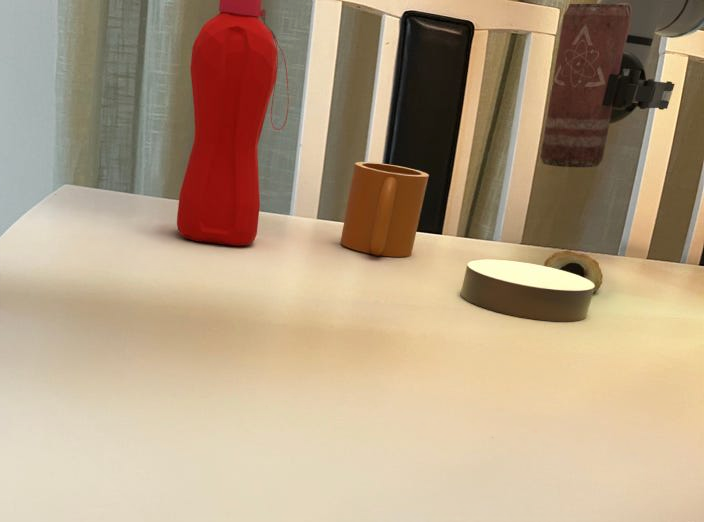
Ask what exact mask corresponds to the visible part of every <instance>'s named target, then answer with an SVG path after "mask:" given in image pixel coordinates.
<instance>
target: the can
mask: <svg viewBox="0 0 704 522" xmlns="http://www.w3.org/2000/svg"><path fill="white" fill-rule="evenodd" d="M631 15H632V9H631V6H630V5H629V4H626V3H619V4H597V3H569V4H568V7H567V9H566V10H565V12H564V13H563V15H562V22H561V27H560V32H559V33H560V34H559V40H558V46H557V52H556V58H555V63H554V70H553V77H552V82H551V86H552V88H551V87H550V90H551V92H550V96H549V101H548V107H547V112H546V119H545V125H544V131H543V136H542V137H543V138H542V144H541V149H540V151H541V152H540V159H541V162H542V164H543V165H547V166H551V167H560V168H561V167H562V168H595V167H598V166H599V165H600V163H602V161H603V158H604V154H605V148H606V143H607V138H608V134H609V127H610V124H609V123H610V118H611V113H612V108H613V102H614V97H615V92H616V87H617V83H616V87H615V90H614V94H613V97H612V101H611V105H610V106H603V105H602V104H603V100H604V97H605V93H606V89H607V86H608V82H609V78H610V75H611V74H616V75H619V71H620V66H621V61H622V56H623V51H624V47H625V43H626V40H627V36H628V33H629V28H630V22H631ZM617 82H618V80H617Z"/></svg>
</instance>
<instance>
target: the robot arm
mask: <svg viewBox="0 0 704 522" xmlns="http://www.w3.org/2000/svg"><path fill="white" fill-rule="evenodd" d="M596 2H597V3H596V4H619V3H626V4H629V5H630V6H631V9H632V15H631V22H630V28H629V33H628V36H627V40H626V43H625V47H624V51H623V56H622V61H621V66H620V71H619V75H616V74H611V75H610V78H609V82H608V86H607V89H606V93H605V97H604V100H603V104H602V105H603V106H610V105H611V101H612V97H613V94H614V90H615V87H616V83H617V87H616V92H615V97H614V102H613V108H612V113H611V118H610V123H609V125H611V124H616V123H619V122H621V121H622V120H624V119H626V118H627V117H628V116H630V115H631V114H632V113H633V112H634V111H635V110H636V109H637V107H638V108H639V110H645V109H658V110H662V111H664V110H667V109H668V107H669V105H670V101H671V98H672V94H673V91H674V88H675V83H673V82H672V81H669V80H667V81H666V82H664V81H655V80H654V79H653V78H648V79H647V73H646V70H645V68H646V65H647V62H648V58H649V54H650V51H651V47H652V44H653V41H654V38H655V35H658V36H661V37H663V38H669V39H675V38H680V37H687V36H690V35H692V34H694V33H696V32H697V31H699V30H700V29H701V28H703V26H704V0H597V1H596ZM617 80H618V82H617ZM551 88H552V85H551V87H550V91H549V92H550V93H551Z"/></svg>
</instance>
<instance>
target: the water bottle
mask: <svg viewBox="0 0 704 522" xmlns="http://www.w3.org/2000/svg"><path fill="white" fill-rule="evenodd" d="M262 1H263V0H219V4H218V12H219V13H218V14H217V15H215V16H213V17H212V18H210V19H209V20H207V21H206V22H205V23H204V25H203V26H202V27H201V29H200V31H199V32H198V34H197V36H196V37H195V39H194V42H193V45H192V47H191V58H190V59H191V60H190V77H191V78H190V79H191V88H192V89H191V90H192V100H193V112H194V113H193V115H194V117H193V118H194V137H193V139H194V140H193V143H192V147H191V151H190V154H189V159H188V162H187V166H186V169H185V173H184V177H183V181H182V183H181V187H180V192H179V198H178V207H177V215H176V229H177V231H178V233H179V234H181V236H182V237H183V238H184V239H187V240H191V241H194V242H202V243H210V244H216V245H217V244H218V245H225V246H236V247H242V246H248V245H250V244H251V243H252V242H254V241H255V240H256V237H257V235H258V226H259V217H260V216H259V215H260V206H261V200H260V199H261V198H260V197H261V195H260V177H259V154H258V145H259V141H260V137H261V133H262V130H263V126H264V122H265V119H266V116H267V111H268V109H269V104H270V100H271V106H270V122H271V126H272V127H273V128H274V130H277V131H279V130H283V128H284V127H285V125H286V123H287V120H288V115H289V107H287V109H286V117H285V121H284V124H283V125H282V126H281V127H280V128H276V126H274V123H273V116H272V115H273V104H274V98H275V97H274V96H275V89H276V84H277V83H276V82H277V78H278V68H279V67H278V66H279V54H278V48H279V50H280V52H281V54H282V57H283V60H284V66H285V68H284V69H285V74H286V75H285V76H286V86H287V90H289V81H288V80H289V79H288V70H287V64H286V63H287V62H286V58H285V54H284V52H283V50H282V49H281V46H280V44H279V43H278V40H277V36H276V35H275V33H274V31H273V30H272V29H271V28H270V26H269V25H268V23H266V19H267V18H266V13H267V11H266V9H265V8H263V9H261V8H262V3H263V2H262ZM260 18H261V19H260ZM262 20H263V21H262ZM271 97H272V99H271ZM289 101H290V100H289V94H287V104H289V103H290V102H289Z"/></svg>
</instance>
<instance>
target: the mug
mask: <svg viewBox="0 0 704 522" xmlns="http://www.w3.org/2000/svg"><path fill="white" fill-rule="evenodd" d="M429 177H430V175H429V174H428V173H427V172H424V171H421V170H419V169H414V168H409V167H405V166H400V165H396V164H395V165H394V164H388V163H380V162H371V161H357V162H355V163H354V166H353V170H352V176H351V182H350V188H349V194H348V199H347V204H346V210H345V214H344V215H345V216H344V220H343V226H342V230H341V231H342V232H341V238H340V244H341V245H342V246H344V247H346V248H348V249H351V250H355V251H356V252H361V253H365V254H371V255H374V256H376V257H377V256H378V257H379V256H384V257H394V258H404V257H405V258H406V257H410V256H412V254H413V249H414V244H415V240H416V235H417V230H418V227H419V222H420V217H421V213H422V208H423V203H424V199H425V193H426V190H427V185H428V180H429Z"/></svg>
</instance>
